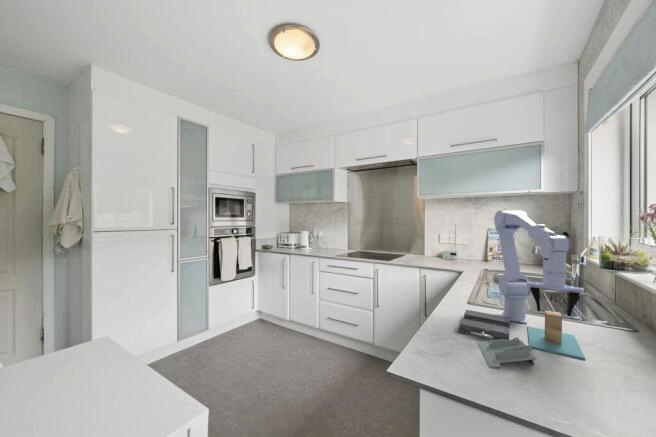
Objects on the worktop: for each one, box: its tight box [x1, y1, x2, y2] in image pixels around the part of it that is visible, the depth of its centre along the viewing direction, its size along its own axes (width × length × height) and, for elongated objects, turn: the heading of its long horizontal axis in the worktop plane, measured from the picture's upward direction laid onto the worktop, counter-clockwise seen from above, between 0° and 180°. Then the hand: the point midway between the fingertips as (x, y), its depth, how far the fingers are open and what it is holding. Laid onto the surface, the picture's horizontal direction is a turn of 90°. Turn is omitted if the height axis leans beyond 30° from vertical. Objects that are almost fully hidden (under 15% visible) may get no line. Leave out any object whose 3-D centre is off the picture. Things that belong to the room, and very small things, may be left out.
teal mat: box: [527, 326, 586, 361], centre depth 90 cm, size 18×13×1 cm
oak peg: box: [544, 310, 563, 344], centre depth 90 cm, size 4×4×9 cm
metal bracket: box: [476, 337, 538, 369], centre depth 81 cm, size 14×6×15 cm
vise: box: [458, 309, 511, 340], centre depth 101 cm, size 22×15×3 cm
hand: (553, 312), depth 90 cm, fingers open, 7 cm apart
